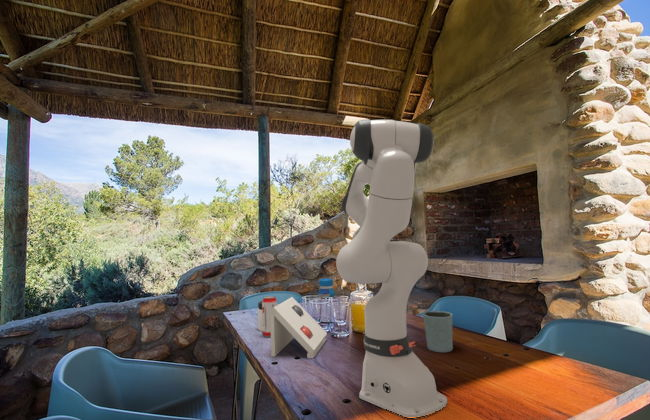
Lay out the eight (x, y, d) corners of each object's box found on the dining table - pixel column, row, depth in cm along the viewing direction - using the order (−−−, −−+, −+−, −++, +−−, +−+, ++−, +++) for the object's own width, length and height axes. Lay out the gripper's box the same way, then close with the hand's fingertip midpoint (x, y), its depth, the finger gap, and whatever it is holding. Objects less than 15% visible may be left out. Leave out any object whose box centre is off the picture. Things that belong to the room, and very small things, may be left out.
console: (327, 340, 134) (325, 296, 135) (314, 358, 114) (312, 307, 115) (290, 338, 137) (288, 296, 138) (271, 356, 118) (270, 307, 119)
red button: (313, 339, 123) (313, 325, 123) (310, 342, 119) (310, 328, 119) (300, 338, 124) (300, 325, 124) (297, 342, 120) (296, 328, 120)
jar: (264, 325, 158) (264, 299, 159) (280, 326, 156) (279, 300, 156) (254, 331, 150) (254, 303, 151) (270, 332, 147) (270, 304, 148)
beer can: (279, 333, 145) (278, 295, 147) (275, 337, 139) (274, 298, 140) (265, 333, 146) (264, 295, 147) (260, 337, 140) (260, 298, 141)
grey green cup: (444, 355, 113) (442, 318, 114) (418, 348, 121) (416, 313, 122) (460, 348, 119) (458, 313, 120) (434, 341, 127) (432, 309, 128)
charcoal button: (304, 317, 132) (304, 304, 133) (301, 320, 128) (301, 306, 129) (292, 317, 133) (292, 304, 134) (289, 319, 129) (288, 306, 130)
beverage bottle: (339, 322, 160) (337, 279, 162) (322, 324, 157) (320, 281, 158) (332, 318, 168) (330, 277, 169) (316, 320, 165) (314, 279, 166)
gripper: (361, 233, 143) (339, 257, 144) (354, 234, 123) (328, 261, 124) (372, 244, 142) (350, 267, 143) (367, 246, 122) (341, 273, 123)
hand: (340, 265), depth 134 cm, fingers closed
